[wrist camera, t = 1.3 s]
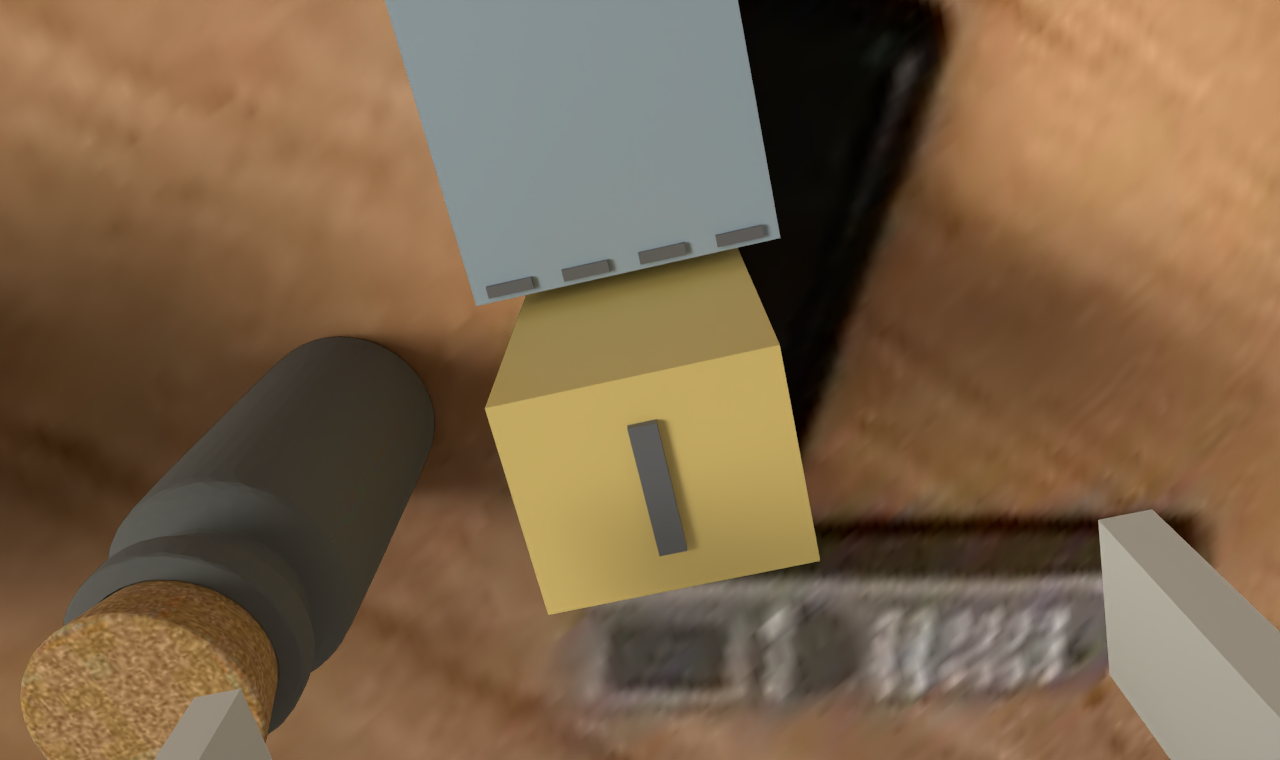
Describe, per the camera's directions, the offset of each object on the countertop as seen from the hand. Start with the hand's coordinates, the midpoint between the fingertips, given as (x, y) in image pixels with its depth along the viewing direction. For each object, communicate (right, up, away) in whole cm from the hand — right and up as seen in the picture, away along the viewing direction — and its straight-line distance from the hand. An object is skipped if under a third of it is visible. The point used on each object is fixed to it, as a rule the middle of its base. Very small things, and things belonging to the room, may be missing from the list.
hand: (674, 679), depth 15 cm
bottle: (-10, +3, +18) cm, 21 cm away
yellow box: (0, +7, +17) cm, 18 cm away
